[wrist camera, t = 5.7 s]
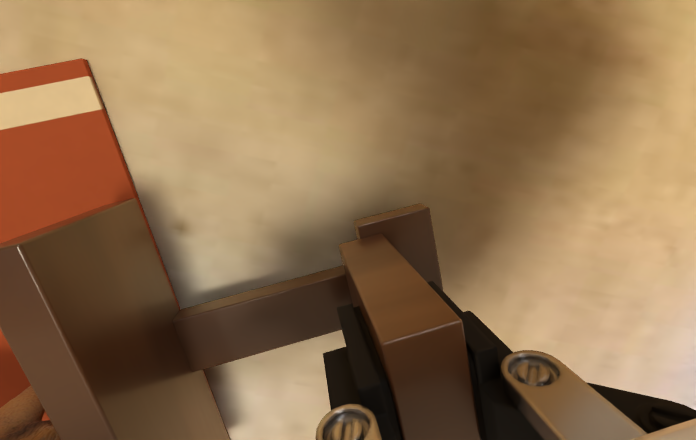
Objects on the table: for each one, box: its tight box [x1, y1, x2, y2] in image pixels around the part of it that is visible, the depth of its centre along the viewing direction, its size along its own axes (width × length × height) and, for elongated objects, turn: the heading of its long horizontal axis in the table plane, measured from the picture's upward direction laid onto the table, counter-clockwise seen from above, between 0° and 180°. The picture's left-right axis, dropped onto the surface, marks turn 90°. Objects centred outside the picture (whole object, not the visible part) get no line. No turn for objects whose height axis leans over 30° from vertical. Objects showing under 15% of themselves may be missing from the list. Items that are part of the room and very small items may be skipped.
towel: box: [0, 59, 222, 421], centre depth 15 cm, size 22×15×1 cm
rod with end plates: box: [0, 198, 481, 440], centre depth 12 cm, size 12×12×8 cm
